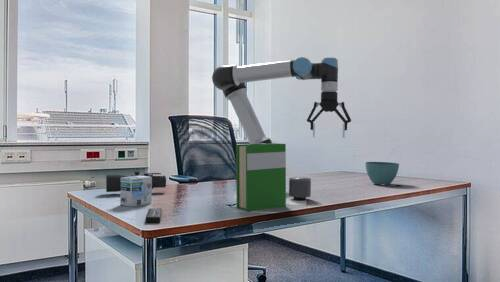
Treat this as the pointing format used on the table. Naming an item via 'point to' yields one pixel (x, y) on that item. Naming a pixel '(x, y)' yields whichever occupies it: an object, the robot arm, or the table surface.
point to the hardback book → (260, 176)
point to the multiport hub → (154, 215)
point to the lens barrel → (299, 198)
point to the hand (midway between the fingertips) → (328, 137)
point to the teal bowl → (381, 172)
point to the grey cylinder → (299, 187)
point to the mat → (294, 202)
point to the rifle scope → (115, 180)
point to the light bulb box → (136, 190)
